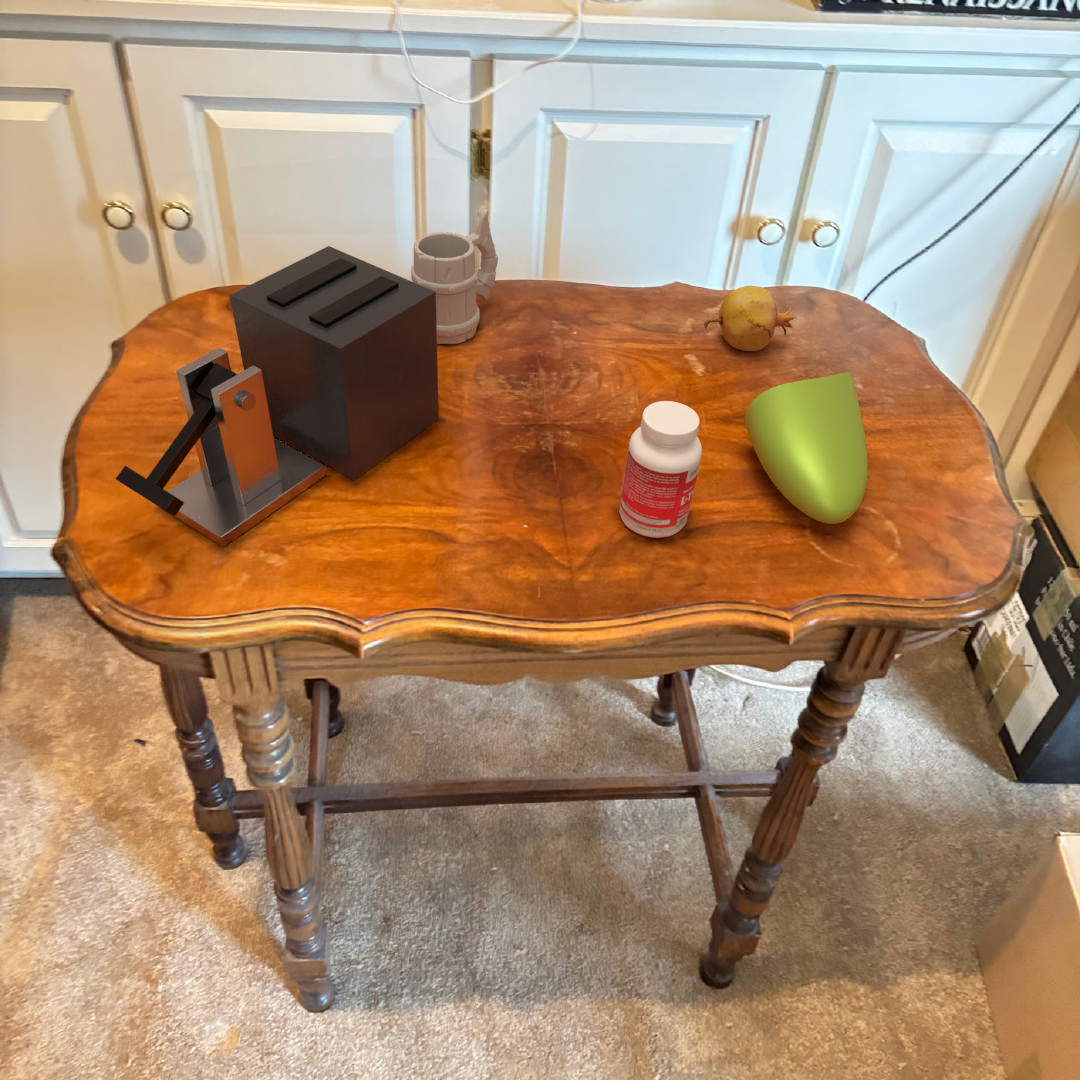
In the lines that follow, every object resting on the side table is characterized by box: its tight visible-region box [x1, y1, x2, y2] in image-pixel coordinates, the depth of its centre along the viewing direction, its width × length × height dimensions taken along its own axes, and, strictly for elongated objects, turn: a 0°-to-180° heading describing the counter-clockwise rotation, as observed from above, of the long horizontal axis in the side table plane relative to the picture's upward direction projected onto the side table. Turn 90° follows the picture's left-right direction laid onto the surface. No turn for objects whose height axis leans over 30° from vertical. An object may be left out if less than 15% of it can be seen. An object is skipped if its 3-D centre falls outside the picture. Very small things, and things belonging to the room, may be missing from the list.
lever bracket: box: [166, 347, 327, 548], centre depth 79 cm, size 12×8×13 cm, turn 145°
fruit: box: [703, 285, 797, 352], centre depth 104 cm, size 7×7×10 cm
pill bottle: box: [618, 400, 703, 538], centre depth 80 cm, size 6×6×11 cm
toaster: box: [229, 245, 440, 482], centre depth 86 cm, size 12×13×14 cm
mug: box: [410, 207, 499, 345], centre depth 102 cm, size 8×12×12 cm, turn 140°
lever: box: [115, 363, 238, 517], centre depth 75 cm, size 12×6×2 cm
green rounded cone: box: [743, 371, 869, 525], centre depth 87 cm, size 8×12×20 cm
